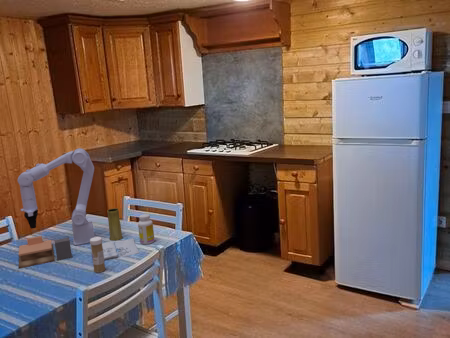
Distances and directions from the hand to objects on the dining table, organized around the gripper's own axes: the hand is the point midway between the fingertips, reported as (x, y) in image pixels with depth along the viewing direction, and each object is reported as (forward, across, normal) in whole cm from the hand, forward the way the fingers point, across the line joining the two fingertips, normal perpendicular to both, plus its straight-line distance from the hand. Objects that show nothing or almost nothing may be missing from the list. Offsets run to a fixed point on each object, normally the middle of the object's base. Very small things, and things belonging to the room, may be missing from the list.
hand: (33, 227), depth 194 cm
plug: (+10, +18, +11) cm, 24 cm away
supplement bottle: (+11, +20, +47) cm, 52 cm away
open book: (+11, +22, +32) cm, 41 cm away
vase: (+11, +8, +35) cm, 37 cm away
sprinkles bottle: (+11, +40, +23) cm, 48 cm away
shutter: (+7, +10, 0) cm, 12 cm away
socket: (+10, +10, 0) cm, 15 cm away
